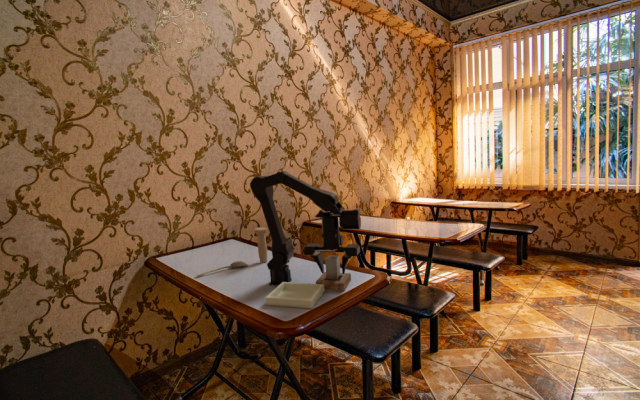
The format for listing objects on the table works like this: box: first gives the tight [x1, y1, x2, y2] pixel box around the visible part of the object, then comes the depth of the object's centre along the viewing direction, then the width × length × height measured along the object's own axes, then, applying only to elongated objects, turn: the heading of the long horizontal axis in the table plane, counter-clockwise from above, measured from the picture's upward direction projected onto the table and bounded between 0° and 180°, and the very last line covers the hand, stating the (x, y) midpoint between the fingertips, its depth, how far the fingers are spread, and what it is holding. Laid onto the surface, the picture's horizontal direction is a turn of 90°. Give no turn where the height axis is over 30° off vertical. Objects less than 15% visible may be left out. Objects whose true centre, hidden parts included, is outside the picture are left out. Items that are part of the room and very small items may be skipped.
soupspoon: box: [196, 260, 249, 279], centre depth 142 cm, size 22×3×7 cm
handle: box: [254, 227, 268, 264], centre depth 149 cm, size 5×6×15 cm
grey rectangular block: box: [324, 254, 341, 281], centre depth 118 cm, size 4×4×10 cm
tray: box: [265, 281, 326, 310], centre depth 109 cm, size 15×13×2 cm
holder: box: [315, 271, 352, 292], centre depth 119 cm, size 10×10×2 cm
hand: (333, 273), depth 118 cm, fingers open, 7 cm apart
